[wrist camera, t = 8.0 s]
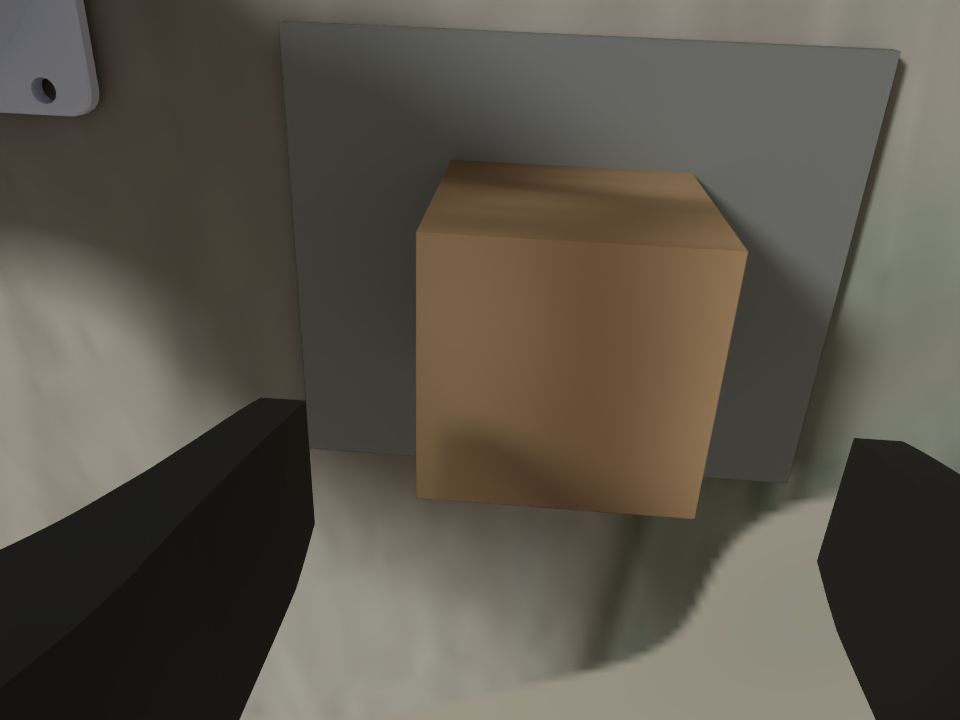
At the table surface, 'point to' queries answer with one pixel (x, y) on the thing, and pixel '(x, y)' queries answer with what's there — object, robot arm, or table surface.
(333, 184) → the mat
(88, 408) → the table surface
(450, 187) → the cube
